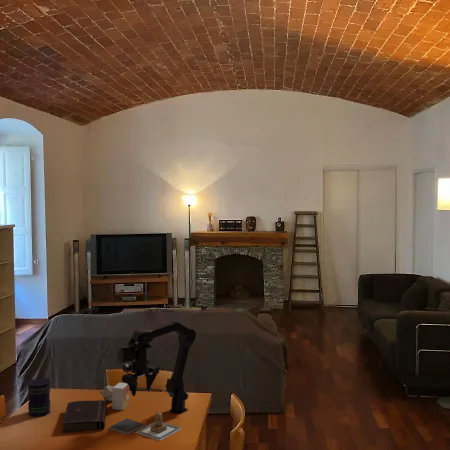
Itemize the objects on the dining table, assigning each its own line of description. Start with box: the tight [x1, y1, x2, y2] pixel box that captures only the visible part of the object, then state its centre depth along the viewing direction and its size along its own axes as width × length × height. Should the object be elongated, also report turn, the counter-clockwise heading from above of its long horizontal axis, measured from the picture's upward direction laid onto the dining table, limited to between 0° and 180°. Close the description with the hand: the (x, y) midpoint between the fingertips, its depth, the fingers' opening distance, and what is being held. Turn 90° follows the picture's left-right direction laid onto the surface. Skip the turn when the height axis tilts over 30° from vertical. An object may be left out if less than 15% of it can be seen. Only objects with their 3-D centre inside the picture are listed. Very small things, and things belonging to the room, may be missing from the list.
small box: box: [111, 382, 130, 411], centre depth 254 cm, size 8×6×10 cm
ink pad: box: [108, 418, 146, 435], centre depth 231 cm, size 11×11×1 cm
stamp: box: [150, 412, 167, 433], centre depth 227 cm, size 5×5×7 cm
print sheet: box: [134, 421, 182, 441], centre depth 228 cm, size 14×14×1 cm
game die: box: [99, 384, 117, 402], centre depth 262 cm, size 9×8×10 cm
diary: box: [61, 399, 108, 434], centre depth 239 cm, size 19×25×5 cm
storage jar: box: [27, 377, 52, 418], centre depth 247 cm, size 10×10×15 cm
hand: (141, 393), depth 237 cm, fingers open, 9 cm apart
